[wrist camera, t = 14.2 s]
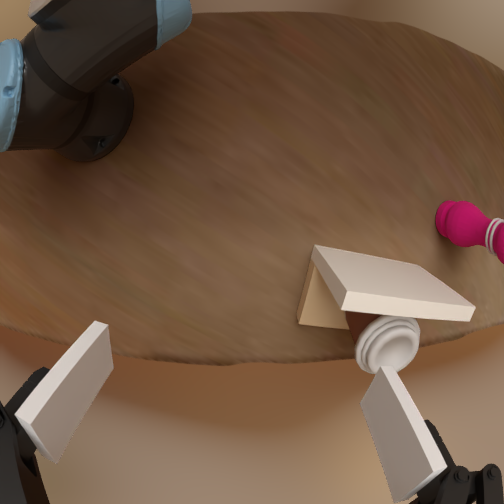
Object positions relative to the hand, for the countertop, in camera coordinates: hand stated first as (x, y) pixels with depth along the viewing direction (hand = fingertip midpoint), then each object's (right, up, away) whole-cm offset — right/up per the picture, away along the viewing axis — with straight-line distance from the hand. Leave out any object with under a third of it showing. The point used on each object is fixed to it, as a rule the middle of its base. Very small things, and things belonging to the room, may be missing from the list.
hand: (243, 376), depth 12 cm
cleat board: (+18, 0, +30) cm, 35 cm away
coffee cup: (+17, -3, +28) cm, 33 cm away
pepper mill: (+34, +11, +26) cm, 44 cm away
